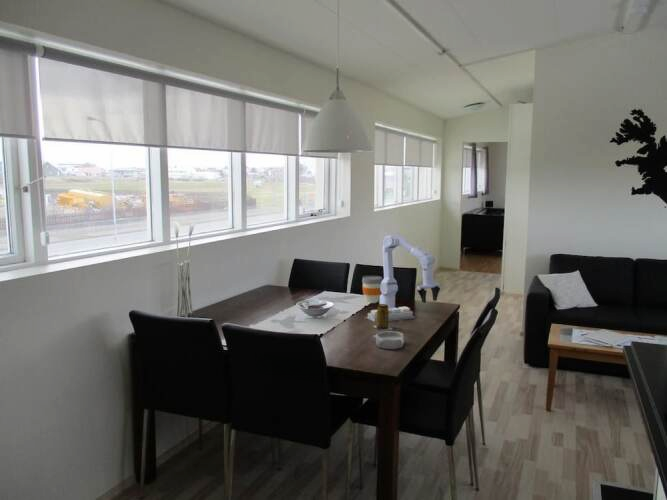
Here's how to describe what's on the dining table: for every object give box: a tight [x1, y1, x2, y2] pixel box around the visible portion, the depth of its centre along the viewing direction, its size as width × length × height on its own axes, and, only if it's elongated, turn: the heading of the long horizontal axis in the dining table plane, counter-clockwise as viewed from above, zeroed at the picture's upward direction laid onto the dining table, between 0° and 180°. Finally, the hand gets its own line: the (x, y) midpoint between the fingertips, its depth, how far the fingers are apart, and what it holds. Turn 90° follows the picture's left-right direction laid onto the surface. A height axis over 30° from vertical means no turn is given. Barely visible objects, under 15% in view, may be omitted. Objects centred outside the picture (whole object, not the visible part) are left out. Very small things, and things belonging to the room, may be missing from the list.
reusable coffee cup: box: [361, 275, 383, 304], centre depth 337 cm, size 13×13×15 cm
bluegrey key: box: [390, 307, 401, 314], centre depth 301 cm, size 4×4×3 cm
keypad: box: [364, 310, 417, 324], centre depth 300 cm, size 12×26×3 cm, turn 117°
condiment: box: [372, 303, 393, 331], centre depth 280 cm, size 7×8×12 cm
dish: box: [372, 330, 405, 350], centre depth 253 cm, size 14×14×5 cm
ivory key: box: [398, 306, 411, 312], centre depth 304 cm, size 4×4×3 cm
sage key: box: [370, 309, 378, 316], centre depth 296 cm, size 4×4×3 cm
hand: (429, 301), depth 298 cm, fingers open, 7 cm apart
